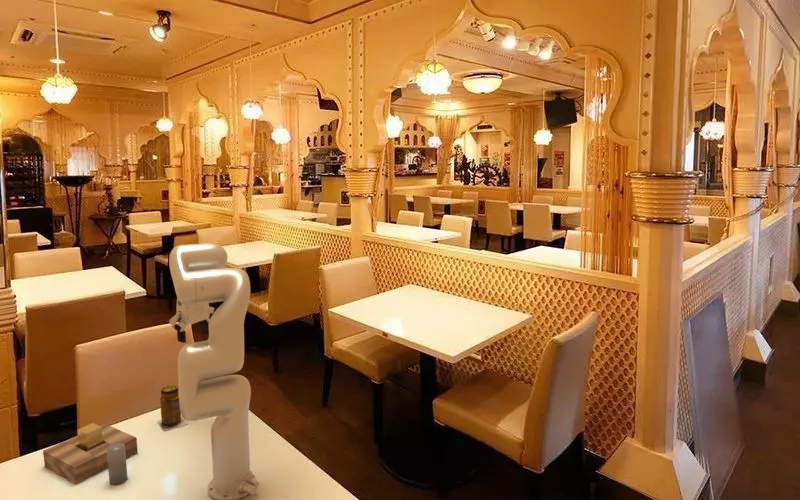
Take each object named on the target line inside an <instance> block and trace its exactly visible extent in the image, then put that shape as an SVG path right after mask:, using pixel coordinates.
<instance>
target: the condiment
mask: <svg viewBox="0 0 800 500" xmlns="http://www.w3.org/2000/svg"><path fill="white" fill-rule="evenodd" d="M159 403H160V416H161V417H160V418H161V419H158V420H157V421H156V422H157V424H158V425H159V426H160V428H161V429H162V430H163V431H168V430H169V431H170V430H173V429H176V428H179V427H183V426H185V425H187V422H186V420H185V419H184V418H183V417H182V415H181V411H180V404H179V386H176V385H167V386H165V387H164V386H163V388H161V390H160V399H159Z"/></svg>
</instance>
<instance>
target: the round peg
mask: <svg viewBox="0 0 800 500" xmlns="http://www.w3.org/2000/svg"><path fill="white" fill-rule="evenodd" d="M107 460H108V468H107V470H108V481H109V485H111V486H120V485H122V484H124V483H126V482H127V481H128V479H129V477H128V465H127V459H126V453H125V444H124V443H115V444H112V445H110V446H108V447H107Z"/></svg>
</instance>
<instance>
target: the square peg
mask: <svg viewBox="0 0 800 500" xmlns="http://www.w3.org/2000/svg"><path fill="white" fill-rule="evenodd" d="M77 436H78V440H79V448H80V449H82V450H84V451H86V452H87V451H89V450H91V449H94V448H96V447H98V446H100V445H102V444H103V437H102V427H101V425H98V424H96V423H93V422H92V423H89V424H87V425H85V426H83V427H81V428H78V429H77Z"/></svg>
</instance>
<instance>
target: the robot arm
mask: <svg viewBox="0 0 800 500" xmlns="http://www.w3.org/2000/svg"><path fill="white" fill-rule="evenodd" d="M168 261H169V262H168V265H169V270H170V275H171V279H172V282H173V286H174V289H175V290H174V291H175V294H176V297H177V298H176V314H175V315H173V316H172V317H171V318H170V319H169V320H168V322H169V323H170V326H171V328H173V329H174V330H175V331H176V337H177V341H178V342H180V343H183V344H185V343H186V342H187V337H186V330H185V328H186V326H187V325H193V324H196V323H199V322H200V325H201V326H200V327H201V333H202V334H205V335H208V338H207V340H201V341H195V342H191V343H187V344H185V345H183V347H181V349H180V350H179V353H178V356H177V357H178V358H177V376H178V380H177V381H178V394H179V404H180V411H181V418H182V419H183V420H184V421H187V422H196V421H197V422H198V421H201V420H205V419H210V418H213V417H215V419H214V420H213V422H212V424H211V429H210V436H211V437H210V440H211V461H212V476H213V478H212V479H211V480H209V483H208V485H207V493H208V496H209V497H210V498H211V499H213V500H240V499H242V498H244V497H246V496H248V495H252V496H253V495H254V494H256V492H257V488H258V487H259V485H260V481H258V480H257V477H256V475H255V474H254V472H253V471H251V462H250V461H251V459H250V457H251V456H250V435H249V434H250V433H249V414H250V413H249V410H250V404H251V402H250V401H251V397H252V396H251V395H252V390H251V389H252V388H251V384H250V381H249V379H248V378H246V377H245V376H244V375H240V374H235V373H238V372H239V371H241V370H242V368H243V366H244V363H245V326H244V325H245V319H246V314H247V311H248V308H249V304H250V299H251V298H250V297H251V281H250V277H249V275H248V273H247V272H246V271H245V270H243V269H241V268H237V267H228V264H227V263H228V253H227V251H226V250H225V248H224V247H223V246H221V245H220V244H218V243H213V242H205V243H202V242H201V243H192V244H190V243H188V244H179V245H176V246H174V247H173V248H172V250H171V251H170V253H169V259H168ZM216 302H223V303H221V304H220V305H219V307H217V309H216V310H215V307H212V306H210V303H211V304H212V303H216Z"/></svg>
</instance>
